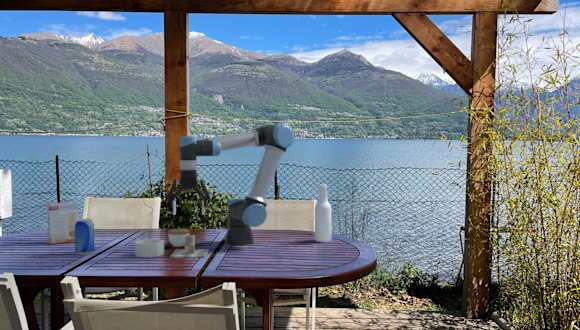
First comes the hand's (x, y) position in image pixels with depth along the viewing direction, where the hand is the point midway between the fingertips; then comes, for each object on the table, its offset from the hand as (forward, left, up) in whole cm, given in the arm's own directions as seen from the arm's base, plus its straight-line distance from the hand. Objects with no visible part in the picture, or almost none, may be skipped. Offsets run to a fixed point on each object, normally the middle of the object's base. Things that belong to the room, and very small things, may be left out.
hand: (188, 214), depth 253 cm
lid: (0, 0, -19) cm, 19 cm away
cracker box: (+71, -29, -19) cm, 79 cm away
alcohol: (-65, -31, -19) cm, 75 cm away
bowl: (+19, 0, -19) cm, 26 cm away
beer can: (+50, -2, -19) cm, 53 cm away
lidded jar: (+9, -20, -19) cm, 29 cm away
